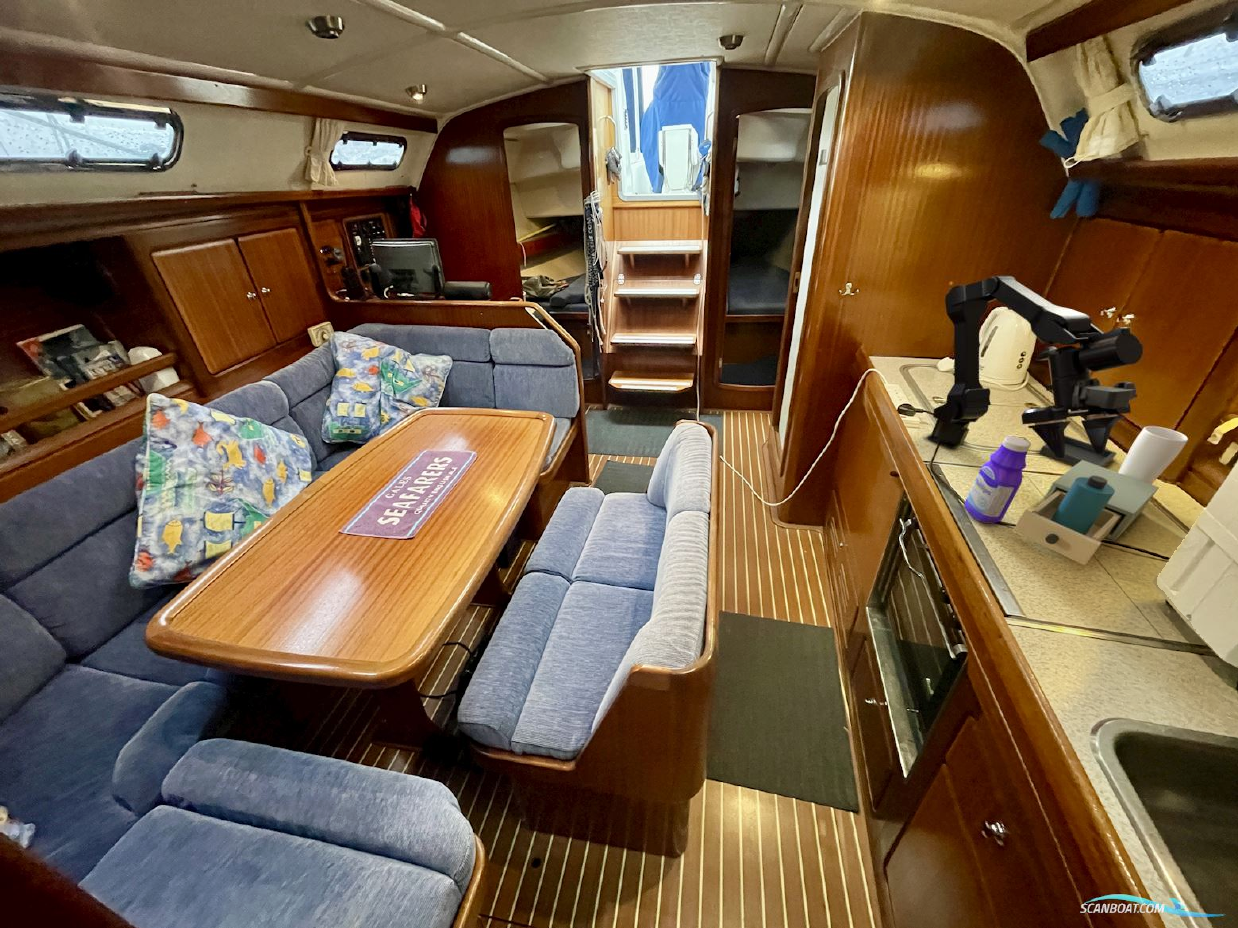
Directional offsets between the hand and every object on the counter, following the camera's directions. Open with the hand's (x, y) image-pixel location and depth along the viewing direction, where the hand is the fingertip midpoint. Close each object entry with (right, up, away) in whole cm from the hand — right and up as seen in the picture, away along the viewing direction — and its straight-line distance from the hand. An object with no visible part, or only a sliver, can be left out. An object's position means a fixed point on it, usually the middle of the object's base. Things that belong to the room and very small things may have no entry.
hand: (1080, 455), depth 95 cm
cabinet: (+8, -11, +7) cm, 15 cm away
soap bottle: (-3, -14, -1) cm, 14 cm away
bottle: (-16, -12, +5) cm, 21 cm away
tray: (+23, 0, +25) cm, 34 cm away
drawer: (-5, -15, -1) cm, 16 cm away
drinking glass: (+21, -8, +12) cm, 26 cm away
